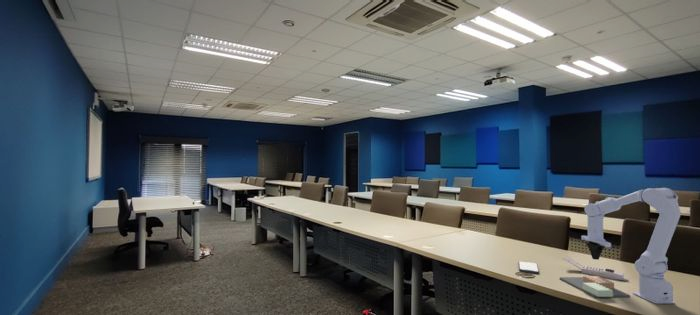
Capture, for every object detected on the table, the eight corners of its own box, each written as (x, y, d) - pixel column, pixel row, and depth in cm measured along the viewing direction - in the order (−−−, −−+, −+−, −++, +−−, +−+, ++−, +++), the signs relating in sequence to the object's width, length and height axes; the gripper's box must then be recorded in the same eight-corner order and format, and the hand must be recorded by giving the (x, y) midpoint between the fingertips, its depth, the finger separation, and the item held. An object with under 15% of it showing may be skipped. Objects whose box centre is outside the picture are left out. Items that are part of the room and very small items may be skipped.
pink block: (614, 288, 132) (614, 282, 132) (598, 289, 132) (598, 282, 132) (598, 281, 140) (598, 275, 140) (583, 281, 140) (583, 275, 140)
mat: (629, 297, 126) (629, 295, 126) (594, 297, 126) (594, 295, 126) (589, 278, 146) (589, 277, 146) (559, 279, 146) (559, 277, 146)
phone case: (518, 263, 170) (518, 272, 155) (518, 260, 170) (518, 269, 156) (537, 266, 166) (539, 275, 151) (537, 263, 166) (539, 272, 151)
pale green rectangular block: (612, 296, 124) (612, 290, 124) (598, 296, 124) (598, 290, 124) (596, 288, 132) (596, 282, 132) (582, 288, 132) (582, 282, 132)
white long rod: (565, 255, 164) (629, 266, 147) (565, 267, 164) (629, 279, 146) (562, 258, 159) (628, 269, 142) (562, 270, 159) (628, 282, 142)
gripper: (617, 233, 139) (617, 264, 138) (591, 226, 153) (591, 254, 153) (602, 233, 138) (602, 264, 138) (577, 226, 153) (577, 254, 152)
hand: (595, 259), depth 145 cm, fingers closed
